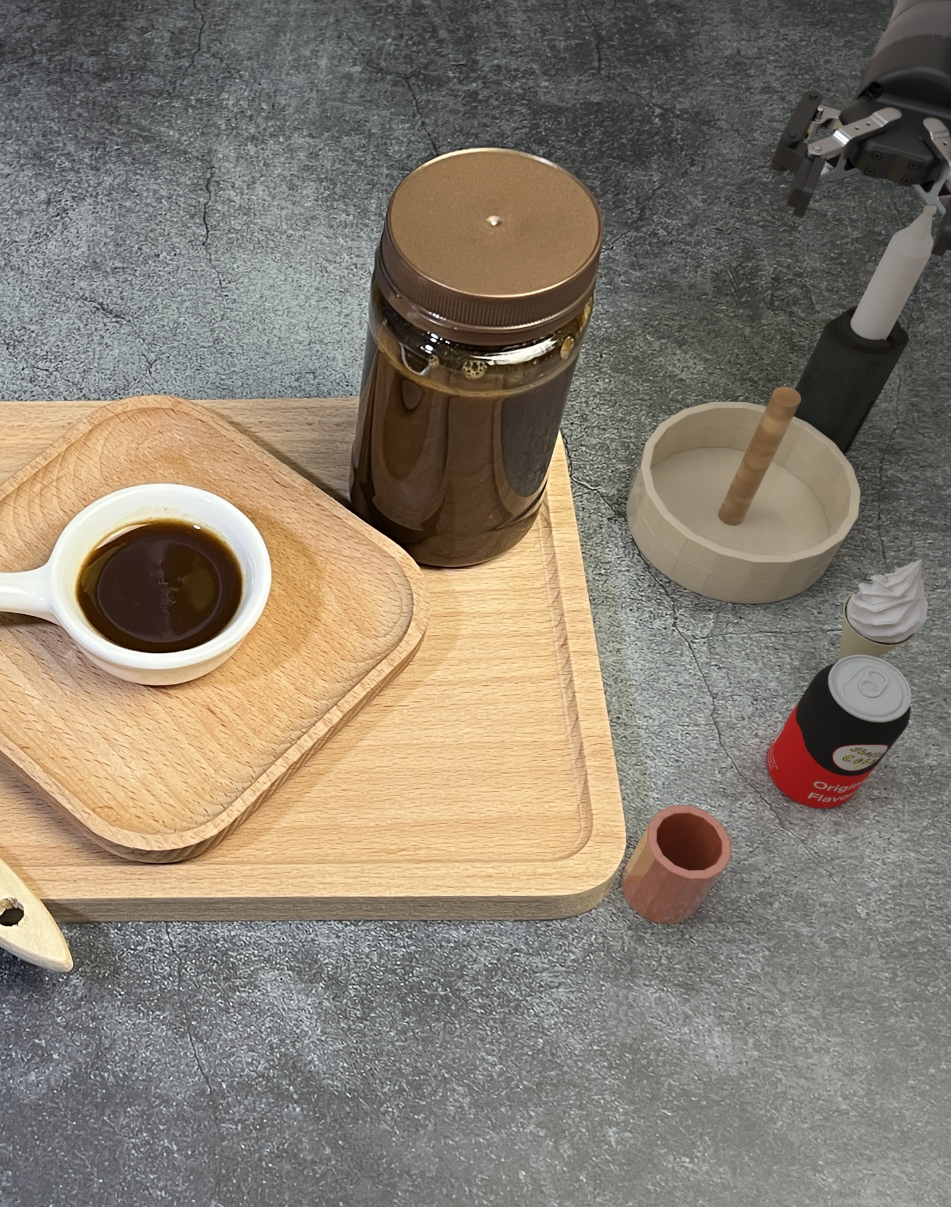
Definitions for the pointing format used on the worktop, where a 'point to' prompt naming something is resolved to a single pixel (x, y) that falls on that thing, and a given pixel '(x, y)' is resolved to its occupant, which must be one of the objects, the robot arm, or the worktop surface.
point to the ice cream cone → (884, 612)
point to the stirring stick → (759, 454)
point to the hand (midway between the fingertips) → (871, 225)
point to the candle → (864, 341)
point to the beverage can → (839, 730)
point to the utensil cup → (675, 864)
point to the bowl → (773, 521)
